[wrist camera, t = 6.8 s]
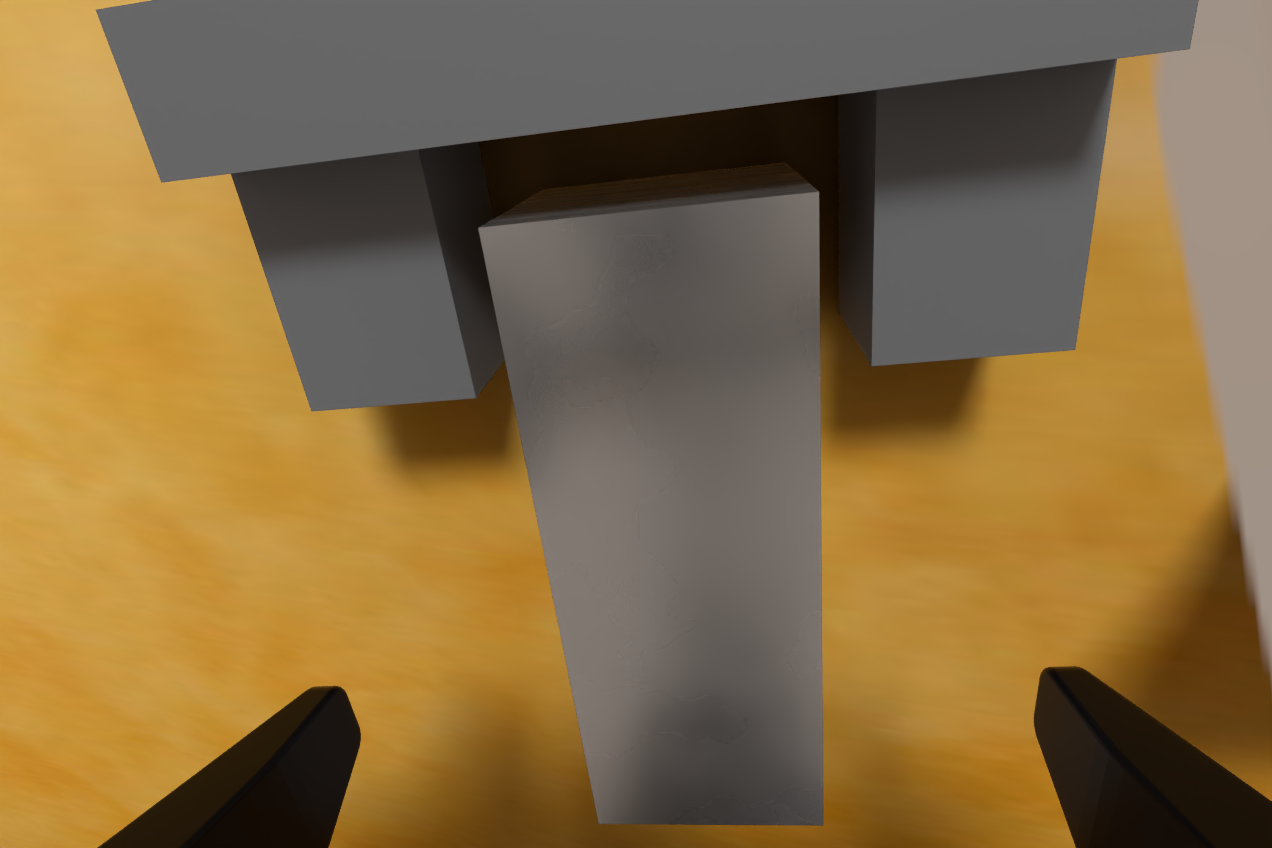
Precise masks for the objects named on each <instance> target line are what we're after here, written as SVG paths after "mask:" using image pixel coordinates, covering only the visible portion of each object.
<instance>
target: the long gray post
mask: <svg viewBox="0 0 1272 848" xmlns="http://www.w3.org/2000/svg"><path fill="white" fill-rule="evenodd" d="M478 230H479V235H480V240H481V244H482V249H483V254H484V259H485V264H486V269H487V274H488V279H489V284H490V289H491V294H492V299H493V304H494V309H495V314H496V319H497V324H498V328H499V333H500V338H501V343H502V348H503V353H504V358H505V363H506V368H507V373H508V378H509V383H510V388H511V393H512V398H513V403H514V408H515V413H516V417H517V422H518V427H519V432H520V437H521V442H522V447H523V452H524V457H525V462H526V467H527V472H528V477H529V482H530V487H531V492H532V497H533V501H534V506H535V511H536V516H537V521H538V526H539V531H540V536H541V541H542V546H543V551H544V556H545V561H546V566H547V571H548V576H549V581H550V585H551V590H552V595H553V600H554V605H555V610H556V615H557V620H558V625H559V630H560V635H561V640H562V645H563V650H564V655H565V660H566V665H567V669H568V674H569V679H570V684H571V689H572V694H573V699H574V704H575V709H576V714H577V719H578V724H579V729H580V734H581V739H582V744H583V749H584V754H585V758H586V763H587V768H588V773H589V778H590V783H591V788H592V793H593V798H594V803H595V808H596V813H597V818H598V823H599V824H686V825H823V701H822V554H821V407H820V259H819V191H818V190H817V189H815V188H814V187H813V186H812V185H811V184H810V183H808V182H807V181H806V180H805V179H804V178H803V177H801V176H800V175H799V174H798V173H797V172H796V171H794V170H793V169H792V168H791V167H790V166H789V165H787V164H786V163H785V162H783V163H774V164H766V165H757V166H748V167H739V168H730V169H721V170H712V171H703V172H694V173H685V174H676V175H668V176H659V177H650V178H641V179H632V180H623V181H614V182H605V183H596V184H587V185H578V186H569V187H561V188H552V189H543V190H542V191H540V192H538V193H537V194H535V195H533V196H532V197H530V198H528V199H526V200H525V201H523V202H521V203H520V204H518V205H516V206H514V207H513V208H511V209H509V210H508V211H506V212H504V213H503V214H501V215H499V216H497V217H496V218H494V219H492V220H491V221H489V222H487V223H486V224H484V225H482V226H480V227H479V228H478Z"/></svg>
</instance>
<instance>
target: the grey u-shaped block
mask: <svg viewBox="0 0 1272 848" xmlns="http://www.w3.org/2000/svg"><path fill="white" fill-rule="evenodd" d="M1197 6H1198V0H152V1H146V2H140V3H134V4H128V5H122V6H116V7H110V8H104V9H98V10H96V12H97V14H98V17H99V20H100V22H101V25H102V27H103V30H104V33H105V35H106V38H107V41H108V43H109V46H110V49H111V51H112V54H113V56H114V59H115V62H116V64H117V67H118V70H119V72H120V75H121V77H122V80H123V83H124V85H125V88H126V91H127V93H128V96H129V98H130V101H131V104H132V106H133V109H134V112H135V114H136V117H137V120H138V122H139V125H140V127H141V130H142V133H143V135H144V138H145V141H146V143H147V146H148V148H149V151H150V154H151V156H152V159H153V162H154V164H155V167H156V170H157V172H158V175H159V177H160V180H161V183H162V182H170V181H177V180H185V179H193V178H201V177H208V176H216V175H224V174H231V175H232V178H233V181H234V184H235V187H236V190H237V193H238V196H239V199H240V202H241V205H242V208H243V211H244V214H245V217H246V220H247V223H248V225H249V228H250V231H251V234H252V237H253V240H254V243H255V246H256V249H257V252H258V255H259V258H260V261H261V264H262V267H263V270H264V273H265V276H266V278H267V281H268V284H269V287H270V290H271V293H272V296H273V299H274V302H275V305H276V308H277V311H278V314H279V317H280V320H281V323H282V326H283V329H284V331H285V334H286V337H287V340H288V343H289V346H290V349H291V352H292V355H293V358H294V361H295V364H296V367H297V370H298V373H299V376H300V379H301V382H302V384H303V387H304V390H305V393H306V396H307V399H308V402H309V405H310V408H311V411H323V410H336V409H348V408H361V407H373V406H385V405H398V404H410V403H423V402H435V401H447V400H460V399H472V398H477V396H478V395H479V394H480V392H481V391H482V390H483V388H484V387H485V386H486V384H487V383H488V382H489V380H490V379H491V378H492V376H493V375H494V374H495V372H496V371H497V370H498V368H499V367H500V366H501V364H502V363H503V362H504V360H505V358H504V353H503V348H502V343H501V338H500V333H499V328H498V324H497V319H496V314H495V309H494V304H493V299H492V294H491V289H490V284H489V279H488V274H487V269H486V264H485V259H484V254H483V249H482V244H481V240H480V235H479V230H478V228H479V227H480V226H482V225H484V224H486V223H487V222H489V221H491V220H492V219H494V218H493V213H492V208H491V203H490V198H489V193H488V188H487V183H486V178H485V173H484V168H483V163H482V158H481V153H480V147H479V142H478V141H486V140H493V139H501V138H509V137H516V136H524V135H532V134H540V133H547V132H555V131H563V130H570V129H578V128H586V127H594V126H601V125H609V124H617V123H624V122H632V121H640V120H647V119H655V118H663V117H671V116H678V115H686V114H694V113H701V112H709V111H717V110H725V109H732V108H740V107H748V106H755V105H763V104H771V103H778V102H786V101H794V100H802V99H809V98H817V97H825V96H832V95H838V151H839V314H840V316H841V317H842V319H843V321H844V322H845V324H846V325H847V327H848V329H849V330H850V332H851V334H852V335H853V337H854V338H855V340H856V342H857V343H858V345H859V347H860V348H861V350H862V351H863V353H864V355H865V356H866V358H867V360H868V361H869V363H870V364H871V366H881V365H894V364H906V363H919V362H931V361H943V360H956V359H968V358H981V357H993V356H1006V355H1018V354H1030V353H1043V352H1055V351H1068V350H1075V348H1076V341H1077V334H1078V327H1079V320H1080V313H1081V306H1082V299H1083V292H1084V285H1085V278H1086V271H1087V264H1088V257H1089V250H1090V243H1091V236H1092V229H1093V222H1094V215H1095V208H1096V201H1097V194H1098V187H1099V180H1100V173H1101V166H1102V159H1103V153H1104V146H1105V139H1106V132H1107V125H1108V118H1109V111H1110V104H1111V97H1112V90H1113V83H1114V76H1115V69H1116V62H1117V58H1125V57H1133V56H1141V55H1148V54H1156V53H1164V52H1171V51H1179V50H1187V49H1190V44H1191V40H1192V34H1193V28H1194V23H1195V17H1196V12H1197Z"/></svg>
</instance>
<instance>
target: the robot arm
mask: <svg viewBox="0 0 1272 848" xmlns="http://www.w3.org/2000/svg"><path fill="white" fill-rule="evenodd" d="M1034 727H1035V732H1036V736H1037V739H1038V742H1039V745H1040V748H1041V750H1042V753H1043V756H1044V759H1045V762H1046V764H1047V767H1048V770H1049V773H1050V776H1051V779H1052V781H1053V784H1054V787H1055V790H1056V793H1057V795H1058V798H1059V801H1060V804H1061V807H1062V810H1063V812H1064V815H1065V818H1066V821H1067V824H1068V826H1069V829H1070V832H1071V835H1072V838H1073V840H1074V843H1075V846H1076V848H1272V801H1270V800H1269V799H1267V798H1266V797H1265V796H1263V795H1262V794H1260V793H1259V792H1258V791H1256V790H1255V789H1253V788H1252V787H1251V786H1249V785H1248V784H1246V783H1245V782H1243V781H1242V780H1241V779H1239V778H1238V777H1236V776H1235V775H1234V774H1232V773H1231V772H1229V771H1228V770H1227V769H1225V768H1224V767H1222V766H1221V765H1220V764H1218V763H1217V762H1215V761H1214V760H1212V759H1211V758H1210V757H1208V756H1207V755H1205V754H1204V753H1203V752H1201V751H1200V750H1198V749H1197V748H1196V747H1194V746H1193V745H1191V744H1190V743H1188V742H1187V741H1186V740H1184V739H1183V738H1181V737H1180V736H1179V735H1177V734H1176V733H1174V732H1173V731H1172V730H1170V729H1169V728H1167V727H1166V726H1164V725H1163V724H1162V723H1160V722H1159V721H1157V720H1156V719H1155V718H1153V717H1152V716H1150V715H1149V714H1148V713H1146V712H1145V711H1143V710H1142V709H1140V708H1139V707H1138V706H1136V705H1135V704H1133V703H1132V702H1131V701H1129V700H1128V699H1126V698H1125V697H1124V696H1122V695H1121V694H1119V693H1118V692H1116V691H1115V690H1114V689H1112V688H1111V687H1109V686H1108V685H1107V684H1105V683H1104V682H1102V681H1101V680H1100V679H1098V678H1097V677H1095V676H1094V675H1092V674H1091V673H1090V672H1088V671H1087V670H1085V669H1083V668H1080V667H1076V666H1071V667H1048V668H1045V669H1044V670H1043V671H1042V672H1041V675H1040V679H1039V686H1038V692H1037V699H1036V705H1035V712H1034ZM360 741H361V733H360V727H359V724H358V722H357V719H356V717H355V714H354V711H353V709H352V706H351V704H350V701H349V699H348V696H347V694H346V692H345V690H344V689H342V688H341V687H339V686H318V687H312V688H310V689H308V690H307V691H305V692H304V693H302V694H301V695H300V696H298V697H297V698H296V699H294V700H293V701H292V702H290V703H289V704H288V705H286V706H285V707H284V708H283V709H281V710H280V711H279V712H277V713H276V714H275V715H273V716H272V717H271V718H269V719H268V720H267V721H265V722H264V723H263V724H261V725H260V726H259V727H257V728H256V729H255V730H253V731H252V732H251V733H249V734H248V735H247V736H245V737H244V738H243V739H241V740H240V741H239V742H237V743H236V744H235V745H233V746H232V747H231V748H229V749H228V750H227V751H225V752H224V753H223V754H221V755H220V756H219V757H217V758H216V759H215V760H213V761H212V762H211V763H210V764H208V765H207V766H206V767H204V768H203V769H202V770H200V771H199V772H198V773H196V774H195V775H194V776H192V777H191V778H190V779H188V780H187V781H186V782H184V783H183V784H182V785H180V786H179V787H178V788H176V789H175V790H174V791H172V792H171V793H170V794H168V795H167V796H166V797H164V798H163V799H162V800H160V801H159V802H158V803H156V804H155V805H154V806H152V807H151V808H150V809H148V810H147V811H146V812H144V813H143V814H142V815H140V816H139V817H138V818H136V819H135V820H134V821H132V822H131V823H130V824H129V825H127V826H126V827H125V828H123V829H122V830H121V831H119V832H118V833H117V834H115V835H114V836H113V837H111V838H110V839H109V840H107V841H106V842H105V843H103V844H102V845H101V846H99V847H98V848H328V847H329V844H330V841H331V838H332V835H333V832H334V828H335V825H336V822H337V819H338V815H339V812H340V809H341V806H342V802H343V799H344V796H345V793H346V789H347V786H348V783H349V780H350V776H351V773H352V770H353V767H354V763H355V760H356V757H357V754H358V750H359V747H360Z"/></svg>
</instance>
